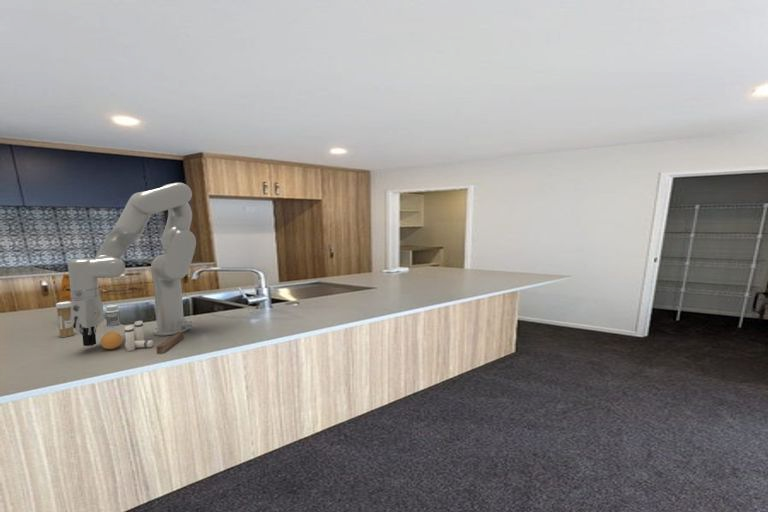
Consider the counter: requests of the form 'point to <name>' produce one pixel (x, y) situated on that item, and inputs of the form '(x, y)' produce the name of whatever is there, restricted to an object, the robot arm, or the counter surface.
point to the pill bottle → (112, 315)
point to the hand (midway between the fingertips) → (89, 344)
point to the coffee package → (65, 289)
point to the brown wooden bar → (169, 342)
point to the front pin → (143, 343)
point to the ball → (111, 340)
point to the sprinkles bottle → (64, 319)
